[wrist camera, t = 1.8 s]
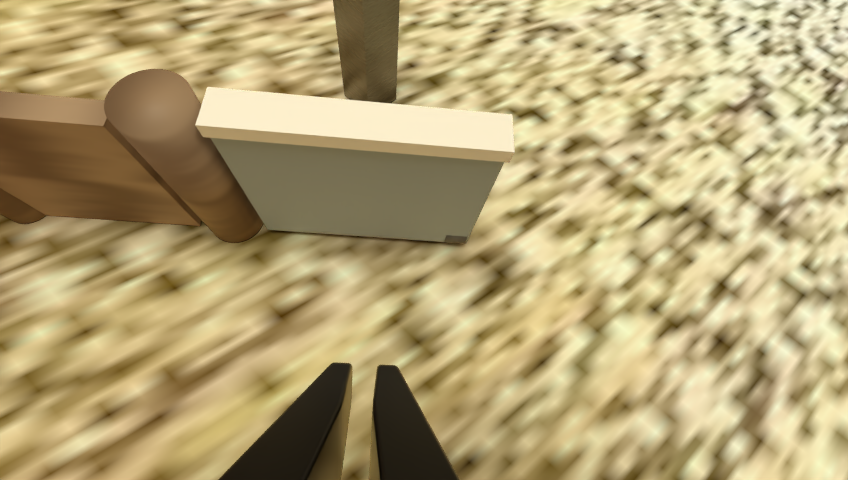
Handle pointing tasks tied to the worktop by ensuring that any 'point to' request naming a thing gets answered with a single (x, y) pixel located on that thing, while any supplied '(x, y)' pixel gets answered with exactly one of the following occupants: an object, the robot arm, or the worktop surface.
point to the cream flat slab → (358, 162)
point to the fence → (119, 159)
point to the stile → (368, 48)
